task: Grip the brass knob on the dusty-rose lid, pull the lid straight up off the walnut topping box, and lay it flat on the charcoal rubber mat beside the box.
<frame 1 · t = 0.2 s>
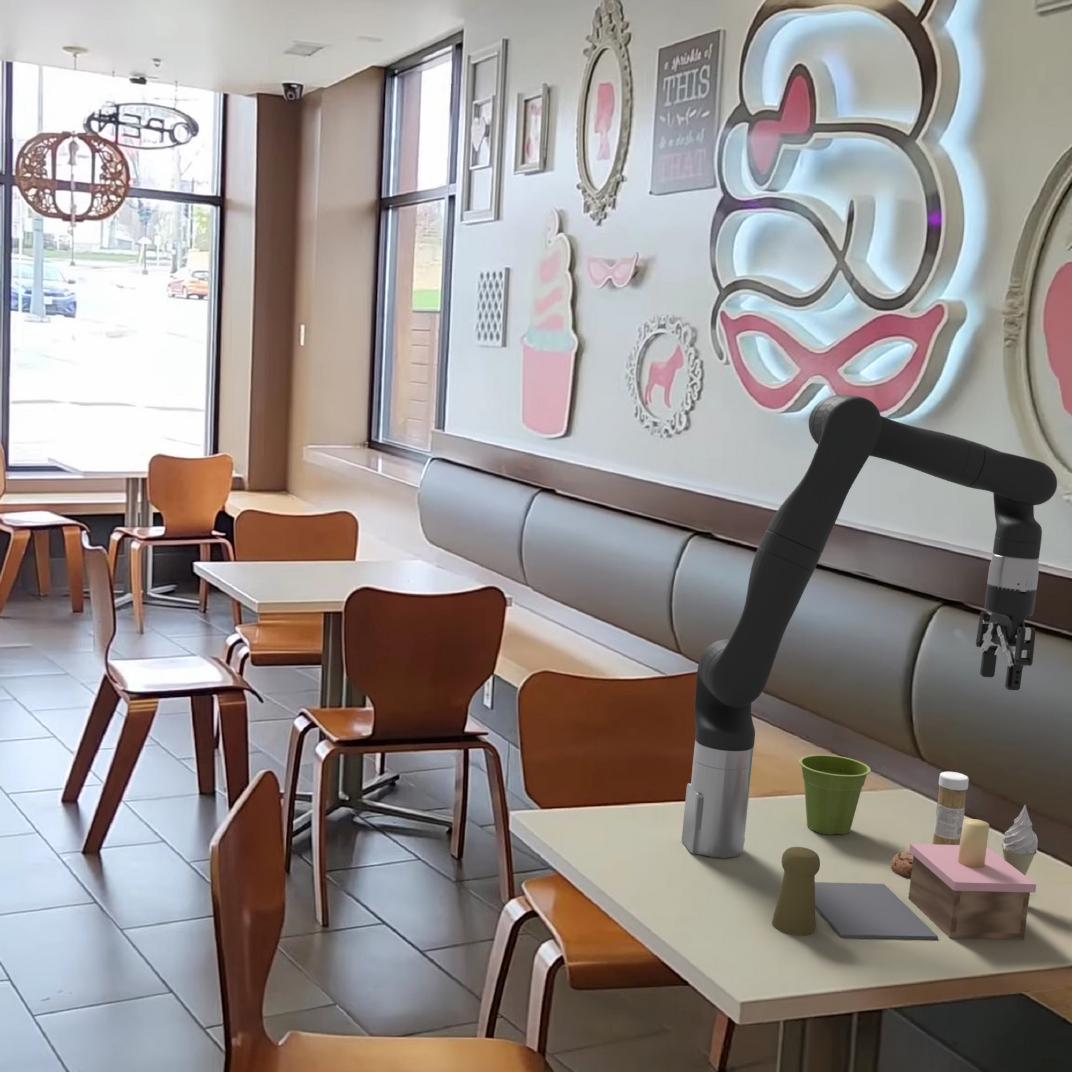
hand: (999, 683, 223), 29 cm above the table, fingers open, 8 cm apart
ice cream cone: (1012, 901, 208), on the table
topping box: (964, 918, 199), on the table
plant pot: (827, 830, 235), on the table
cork: (793, 927, 191), on the table
cookie: (924, 875, 217), on the table
mat: (863, 910, 199), on the table
sprinkles bottle: (944, 855, 226), on the table
lid: (969, 878, 199), point 6 cm above the table, touching topping box
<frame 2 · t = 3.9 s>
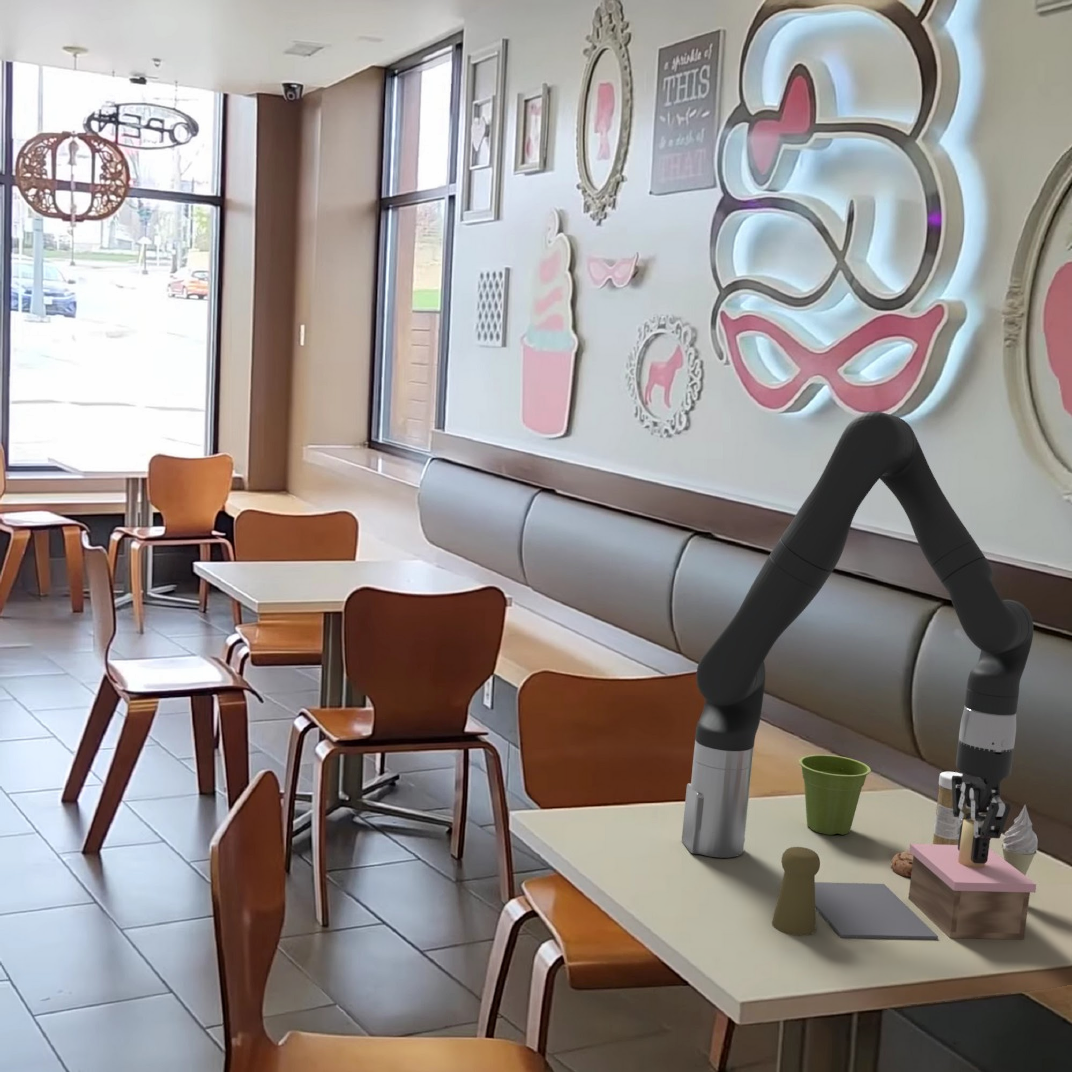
hand: (972, 856, 198), 9 cm above the table, fingers closed on lid, 3 cm apart
lid: (969, 878, 199), point 6 cm above the table, touching gripper, topping box
everything else where it was.
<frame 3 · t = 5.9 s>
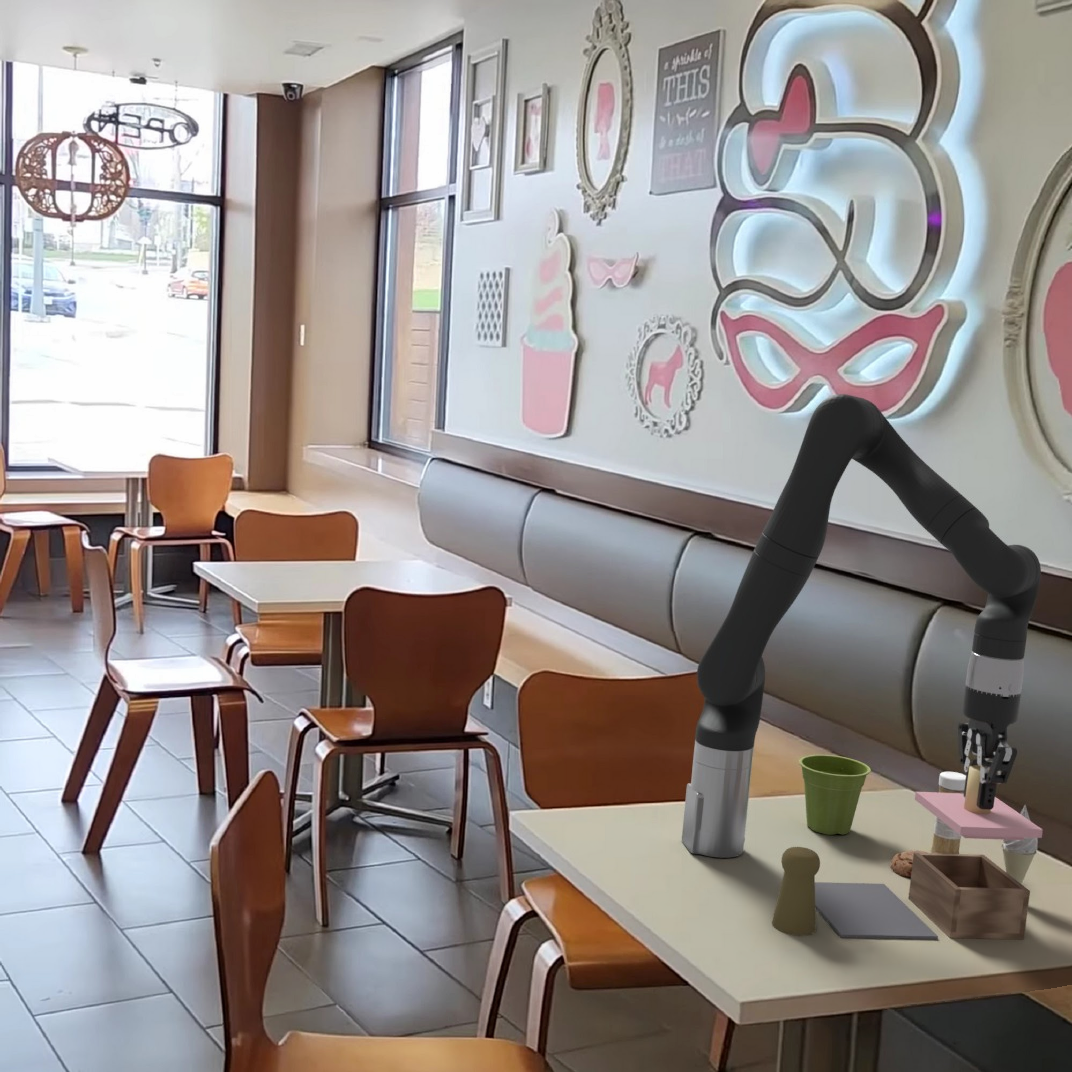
hand: (978, 803, 197), 17 cm above the table, fingers closed on lid, 3 cm apart
lid: (975, 824, 198), point 14 cm above the table, touching gripper
everything else where it was.
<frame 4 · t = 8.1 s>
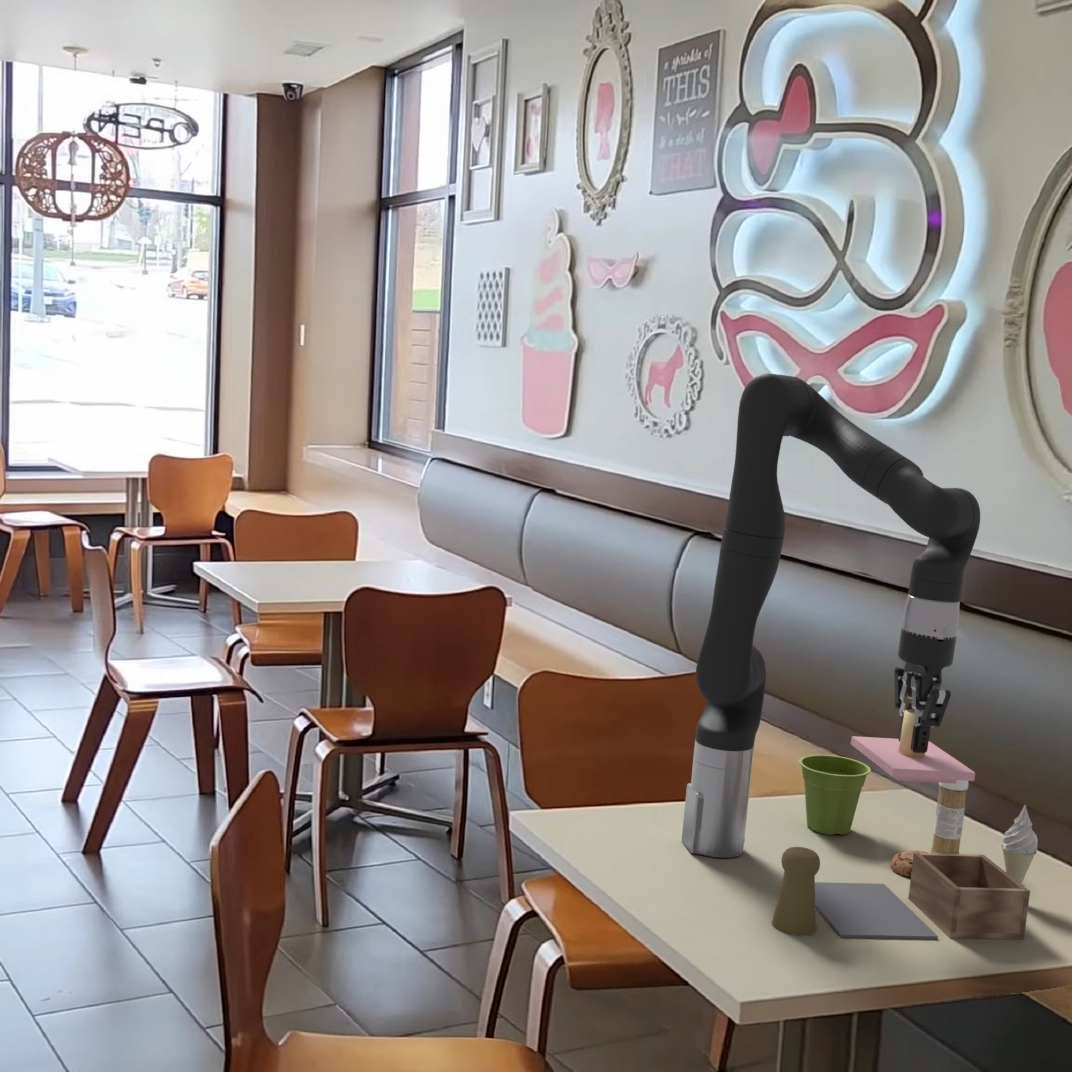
hand: (912, 747, 196), 24 cm above the table, fingers closed on lid, 3 cm apart
lid: (909, 768, 197), point 21 cm above the table, touching gripper
everything else where it was.
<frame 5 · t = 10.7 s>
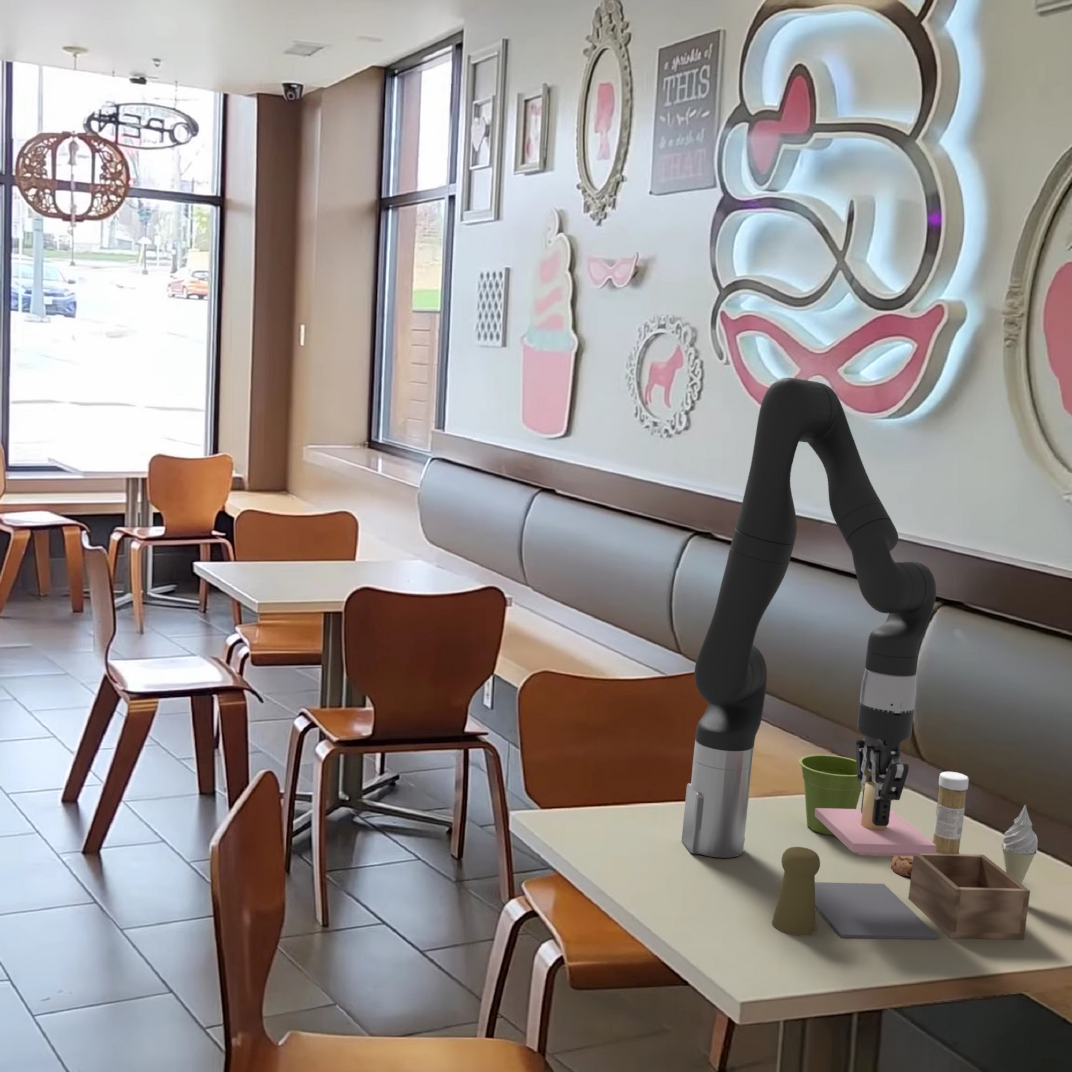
hand: (874, 819, 197), 14 cm above the table, fingers closed on lid, 3 cm apart
lid: (872, 840, 198), point 10 cm above the table, touching gripper
everything else where it was.
when the fingers open (5 cm above the table, at t = 12.7 s): lid drops 1 cm, resting on mat.
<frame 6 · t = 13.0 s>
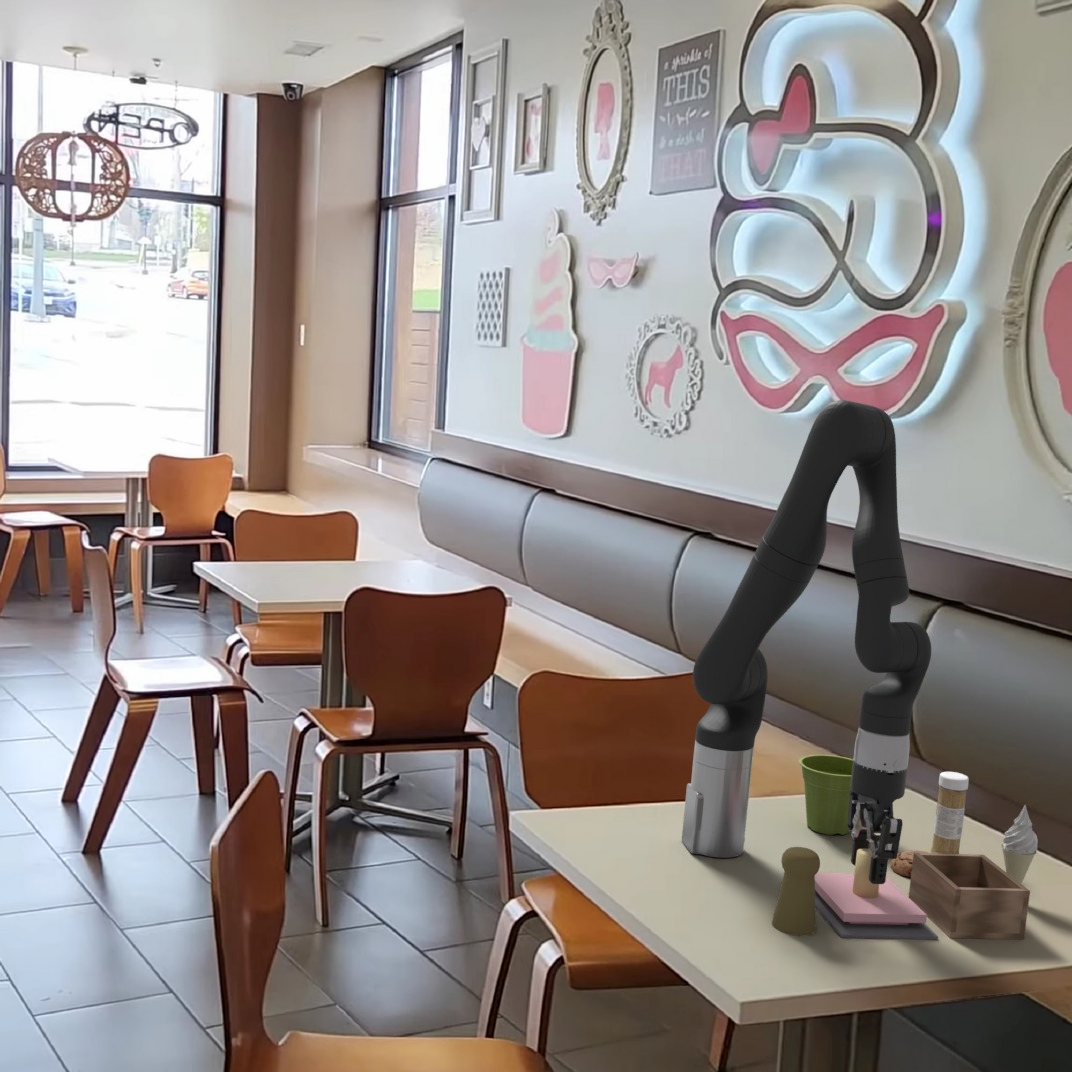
hand: (867, 873, 198), 6 cm above the table, fingers open, 6 cm apart
lid: (863, 907, 199), resting on mat
everything else where it was.
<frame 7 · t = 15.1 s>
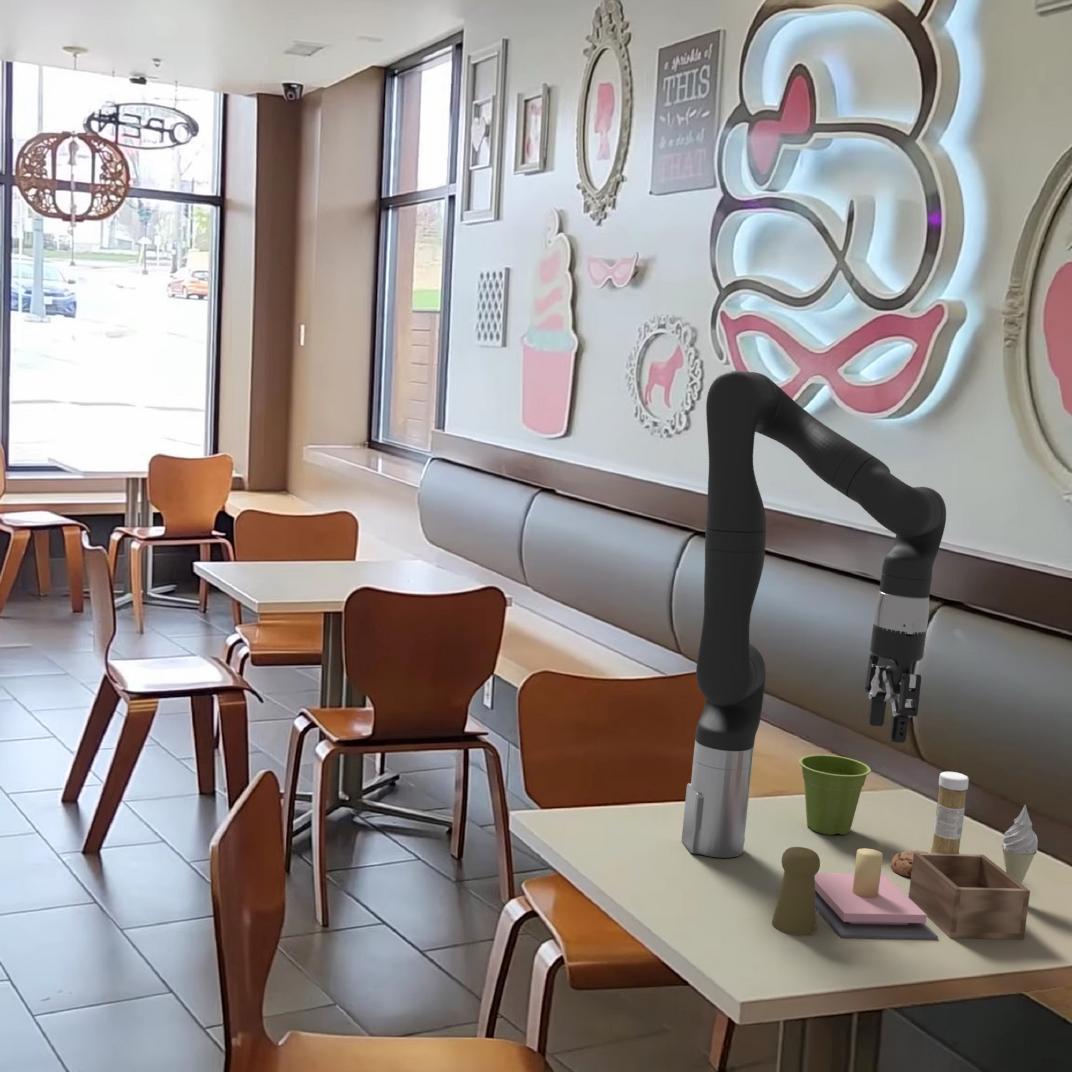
hand: (886, 733, 202), 25 cm above the table, fingers open, 8 cm apart
nothing on the table moved.
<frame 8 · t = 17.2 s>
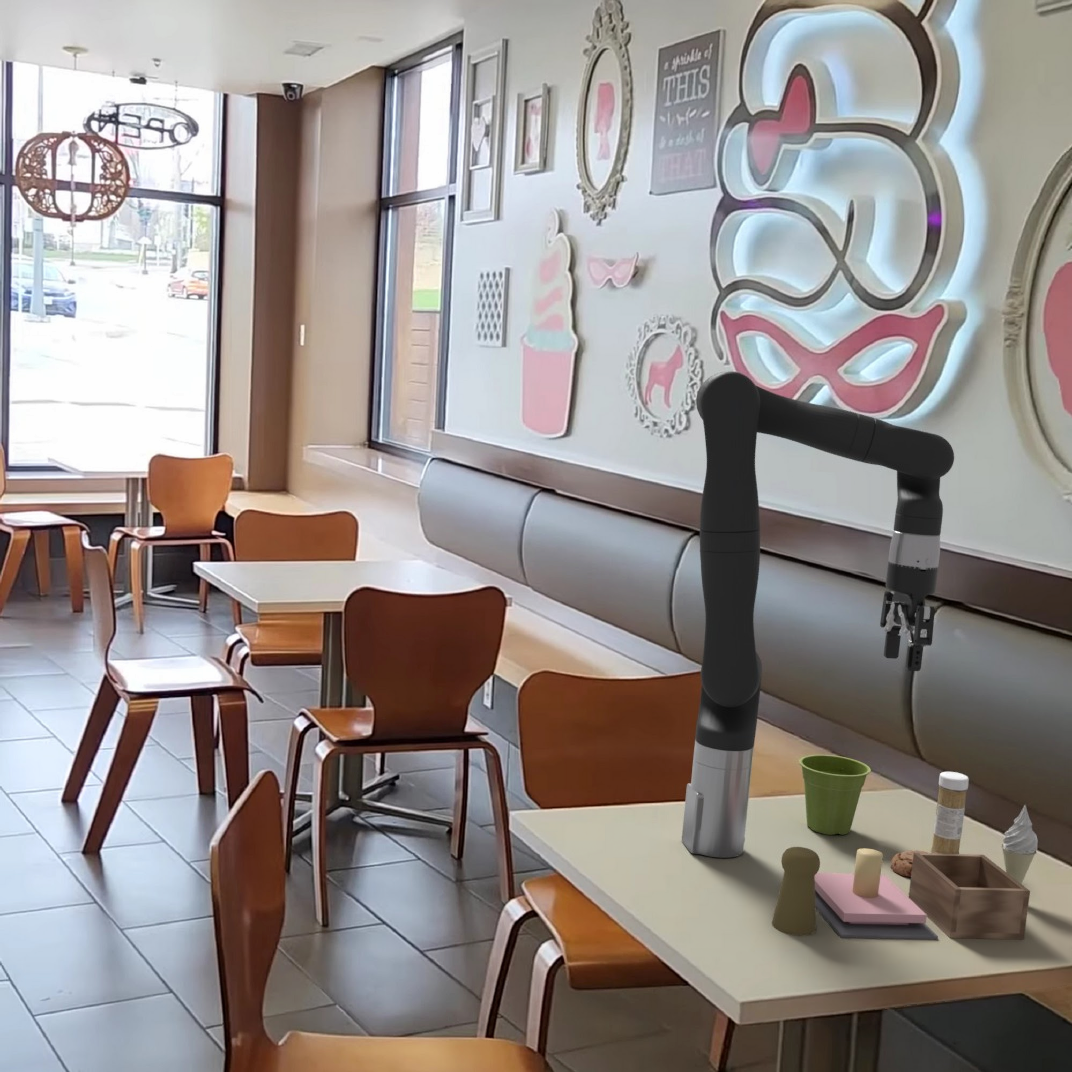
hand: (901, 664, 216), 32 cm above the table, fingers open, 8 cm apart
nothing on the table moved.
at the end: lid inside the target area (0.0 cm from its centre), resting on mat; lid tilted 0°; the gripper is holding nothing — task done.
